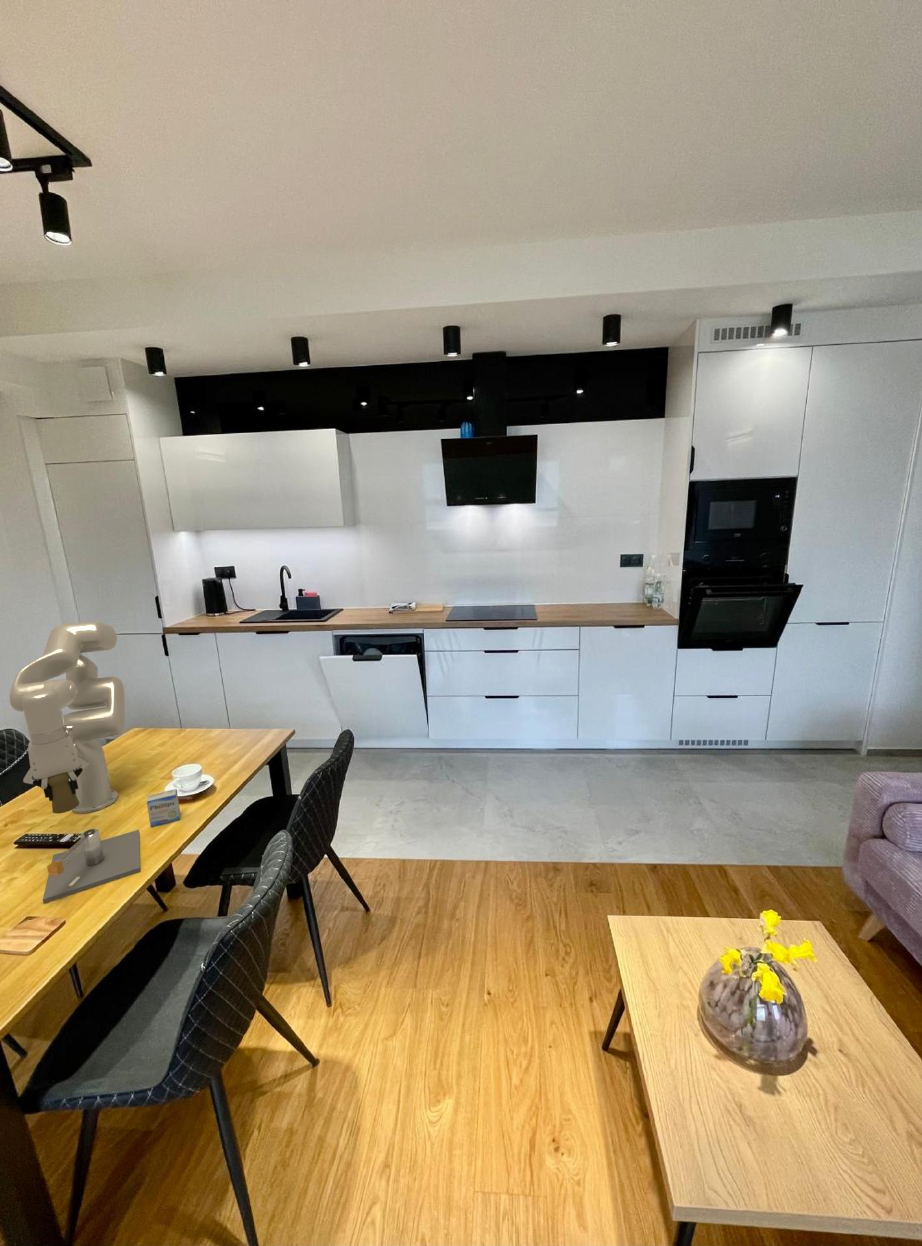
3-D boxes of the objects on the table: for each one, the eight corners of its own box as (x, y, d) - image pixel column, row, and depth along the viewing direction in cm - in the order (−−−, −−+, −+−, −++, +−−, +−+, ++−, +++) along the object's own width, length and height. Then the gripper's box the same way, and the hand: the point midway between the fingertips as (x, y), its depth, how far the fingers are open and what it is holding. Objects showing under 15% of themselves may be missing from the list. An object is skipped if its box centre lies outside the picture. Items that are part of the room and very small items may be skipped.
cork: (67, 813, 139) (58, 777, 136) (46, 813, 140) (37, 777, 137) (84, 800, 145) (76, 765, 142) (64, 800, 146) (56, 765, 143)
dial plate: (54, 858, 140) (53, 854, 140) (139, 833, 151) (138, 828, 150) (43, 903, 124) (42, 898, 124) (140, 871, 134) (139, 866, 134)
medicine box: (150, 828, 153) (145, 802, 151) (151, 820, 157) (147, 794, 155) (180, 820, 157) (176, 794, 155) (180, 813, 161) (176, 788, 159)
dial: (92, 855, 139) (86, 827, 137) (107, 854, 139) (102, 826, 137) (50, 896, 124) (43, 865, 122) (66, 895, 124) (60, 865, 122)
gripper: (86, 721, 145) (98, 779, 149) (8, 739, 135) (23, 800, 139) (87, 730, 139) (100, 790, 144) (6, 750, 129) (22, 813, 134)
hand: (62, 794), depth 141 cm, fingers closed on cork, 4 cm apart
